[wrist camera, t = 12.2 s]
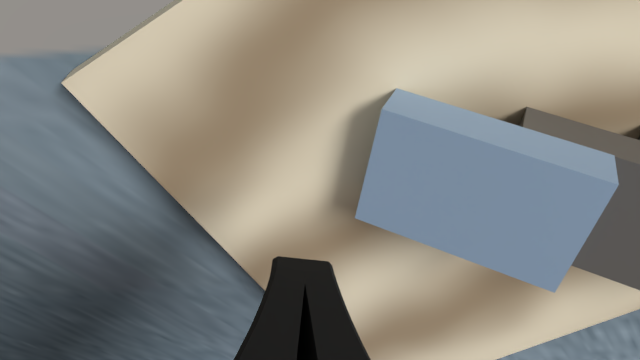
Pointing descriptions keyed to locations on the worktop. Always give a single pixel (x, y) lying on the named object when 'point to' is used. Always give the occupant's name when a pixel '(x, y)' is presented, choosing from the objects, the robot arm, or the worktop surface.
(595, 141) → the tile
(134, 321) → the worktop surface
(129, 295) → the worktop surface
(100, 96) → the board
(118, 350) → the worktop surface
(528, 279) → the tile blue
